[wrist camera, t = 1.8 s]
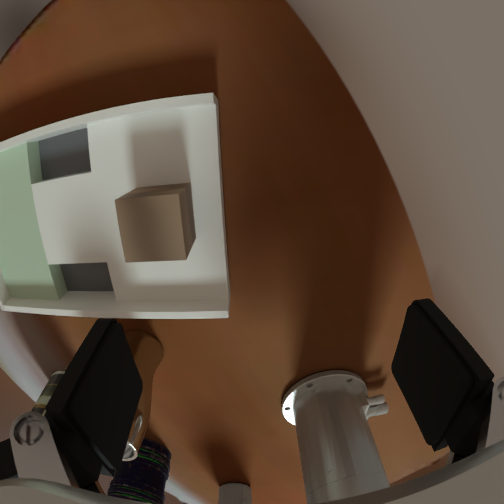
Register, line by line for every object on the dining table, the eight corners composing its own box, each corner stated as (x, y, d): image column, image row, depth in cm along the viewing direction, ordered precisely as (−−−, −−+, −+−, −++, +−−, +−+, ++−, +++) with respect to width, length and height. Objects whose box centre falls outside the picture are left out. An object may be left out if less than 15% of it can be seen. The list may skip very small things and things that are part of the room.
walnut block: (190, 182, 25) (178, 193, 20) (196, 237, 27) (186, 260, 22) (136, 187, 25) (114, 200, 20) (144, 240, 27) (125, 262, 22)
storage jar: (130, 457, 47) (116, 516, 33) (115, 433, 43) (94, 498, 29) (176, 464, 47) (168, 526, 33) (165, 440, 43) (152, 511, 29)
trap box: (218, 99, 24) (213, 92, 20) (230, 293, 32) (228, 317, 28) (-13, 153, 24) (-36, 158, 20) (18, 293, 32) (1, 310, 27)
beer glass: (140, 317, 33) (95, 416, 19) (178, 356, 35) (154, 457, 21) (105, 339, 34) (59, 428, 20) (142, 374, 36) (112, 465, 23)
